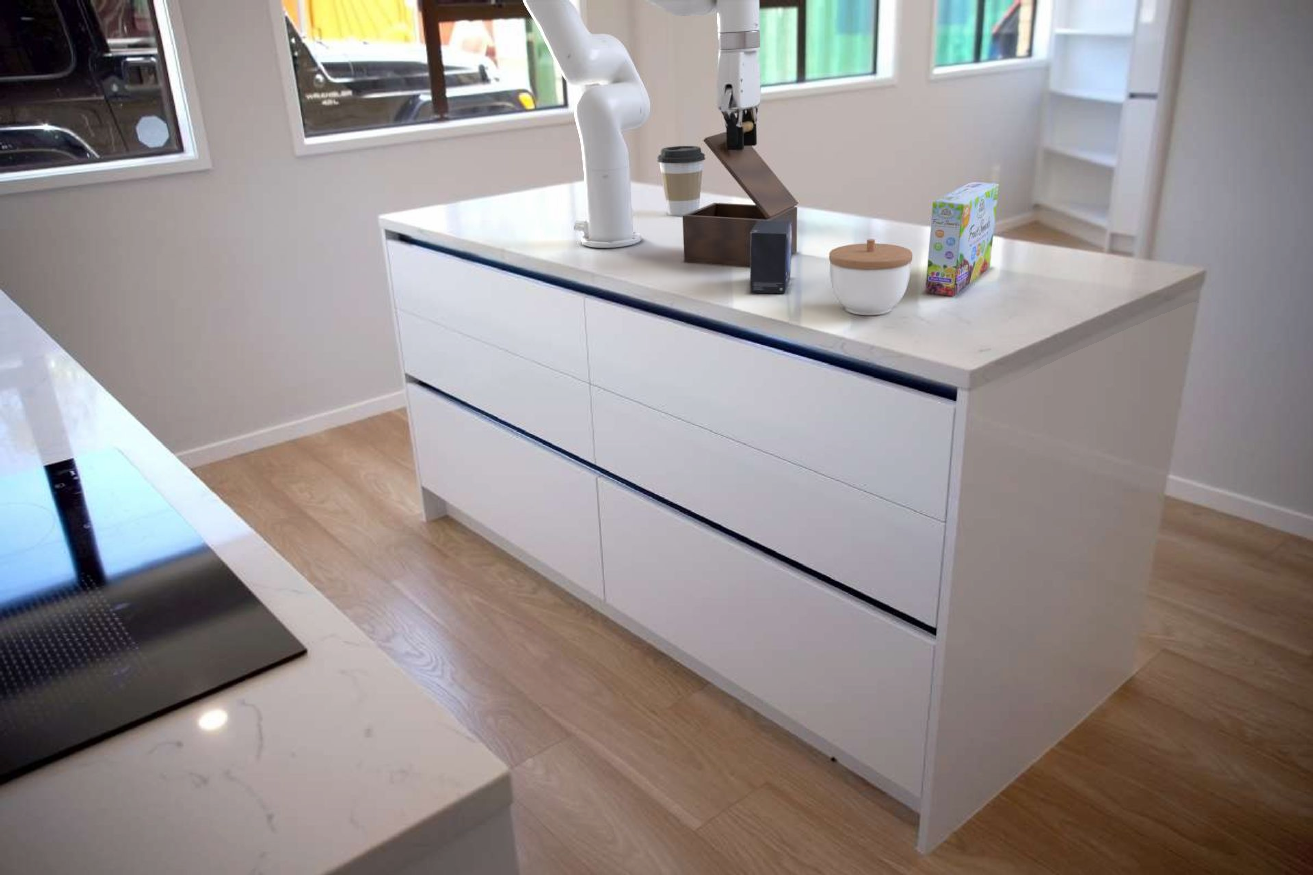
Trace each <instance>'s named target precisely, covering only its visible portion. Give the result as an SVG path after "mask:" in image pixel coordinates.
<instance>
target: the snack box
mask: <svg viewBox="0 0 1313 875" xmlns="http://www.w3.org/2000/svg"><path fill="white" fill-rule="evenodd" d="M999 188H1000V184H999V183H990V182H978V181H977V182H976V181H975V182H973V181H971V182H968V183H967V184H965V185H963V186H961V187H959V188H957V189H956V190H954V191H951V192H950V193H947V194H946V195H944V196H942V197H940V198H938V199H937V200H934V201H933V202H932V210H931V221H930V222H931V223H930V233H929V245H928V256H927V267H926V277H925V287H924V293H930V294H935V295H944V296H952V297H954V296H955V295H956V294H958V293H959V292H961V291H962V290H963V289H964V288H966V286H968V285H969V284H970V283H972V282H973V281H975V280H976V279H977V278H979V277H980V276H981V275H983V274H984V273H985V272H986V271H987V270H989V269H990V268H991V260H992V250H993V240H994V232H995V223H996V214H997V206H998V204H997V203H998V196H999Z"/></svg>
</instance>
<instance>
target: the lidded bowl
mask: <svg viewBox="0 0 1313 875" xmlns="http://www.w3.org/2000/svg"><path fill="white" fill-rule="evenodd" d="M828 254H829V256H828V260H829V278H830V284H831V289H832V292H833V295H834V296H835V298H836V299H837V301H838V302H839V303H840V304H841V305H842V306H843V307H845V311H846V312H847V313H850V314H853V315H857V316H858V315H860V316H880V315H885V314H888V313H890V312H892V310H893V309H892V308H894V307H895V306H896V305H897V304H898V303H899V302H900V301H901V300H902V298H903V297H904V295H905V293H906V291H907V288H908V285H909V282H910V276H911V270H912V268H911V267H912V260H913V252H912V251H911V250H910V249H909V248H907V247H904V246H900V245H896V244H888V243H876V239H875V238H867V239H866V243H853V244H847V245H841V246H838V247H835V248H833V249H831V250H830V251H829V253H828Z"/></svg>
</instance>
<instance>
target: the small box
mask: <svg viewBox="0 0 1313 875" xmlns="http://www.w3.org/2000/svg"><path fill="white" fill-rule="evenodd" d="M791 239H792V233H791V221H766V220H758V221H757V222H756V224H755V225H754V227H753V229H752V231H751V232H750V267H749V293H750V294H751V293H754V294H755V293H756V294H757V293H758V294H759V293H760V294H785V293H786V291H787V289H788V286H789V284H790V280H791V273H792V256H791Z"/></svg>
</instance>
